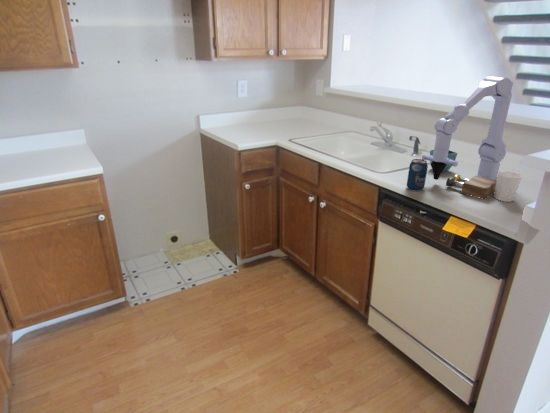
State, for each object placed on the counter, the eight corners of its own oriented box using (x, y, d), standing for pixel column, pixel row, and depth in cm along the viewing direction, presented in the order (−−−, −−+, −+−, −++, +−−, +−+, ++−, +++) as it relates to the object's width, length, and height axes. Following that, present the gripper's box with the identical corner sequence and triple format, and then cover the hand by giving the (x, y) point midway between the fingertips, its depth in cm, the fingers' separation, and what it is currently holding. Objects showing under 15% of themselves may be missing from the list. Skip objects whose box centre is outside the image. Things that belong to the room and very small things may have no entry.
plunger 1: (449, 184, 162) (450, 176, 161) (472, 190, 156) (474, 182, 154) (445, 186, 160) (446, 178, 158) (469, 193, 153) (471, 184, 152)
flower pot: (440, 166, 188) (444, 148, 184) (454, 171, 180) (458, 152, 177) (426, 168, 185) (429, 149, 181) (439, 173, 177) (443, 154, 174)
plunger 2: (454, 181, 166) (456, 173, 164) (478, 187, 159) (480, 179, 158) (451, 183, 164) (453, 175, 162) (475, 189, 157) (477, 181, 156)
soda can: (417, 193, 154) (421, 164, 150) (402, 188, 160) (406, 160, 155) (427, 189, 158) (432, 161, 153) (412, 184, 163) (417, 157, 159)
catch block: (473, 185, 162) (475, 175, 161) (496, 191, 156) (498, 180, 155) (461, 193, 154) (463, 182, 152) (484, 199, 148) (487, 188, 146)
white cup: (507, 194, 153) (513, 171, 149) (519, 202, 146) (526, 177, 142) (488, 194, 153) (493, 171, 149) (499, 202, 145) (505, 177, 141)
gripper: (420, 146, 160) (415, 176, 166) (455, 153, 151) (448, 185, 156) (428, 143, 165) (423, 173, 170) (462, 149, 155) (456, 181, 161)
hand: (436, 178), depth 164 cm, fingers closed
